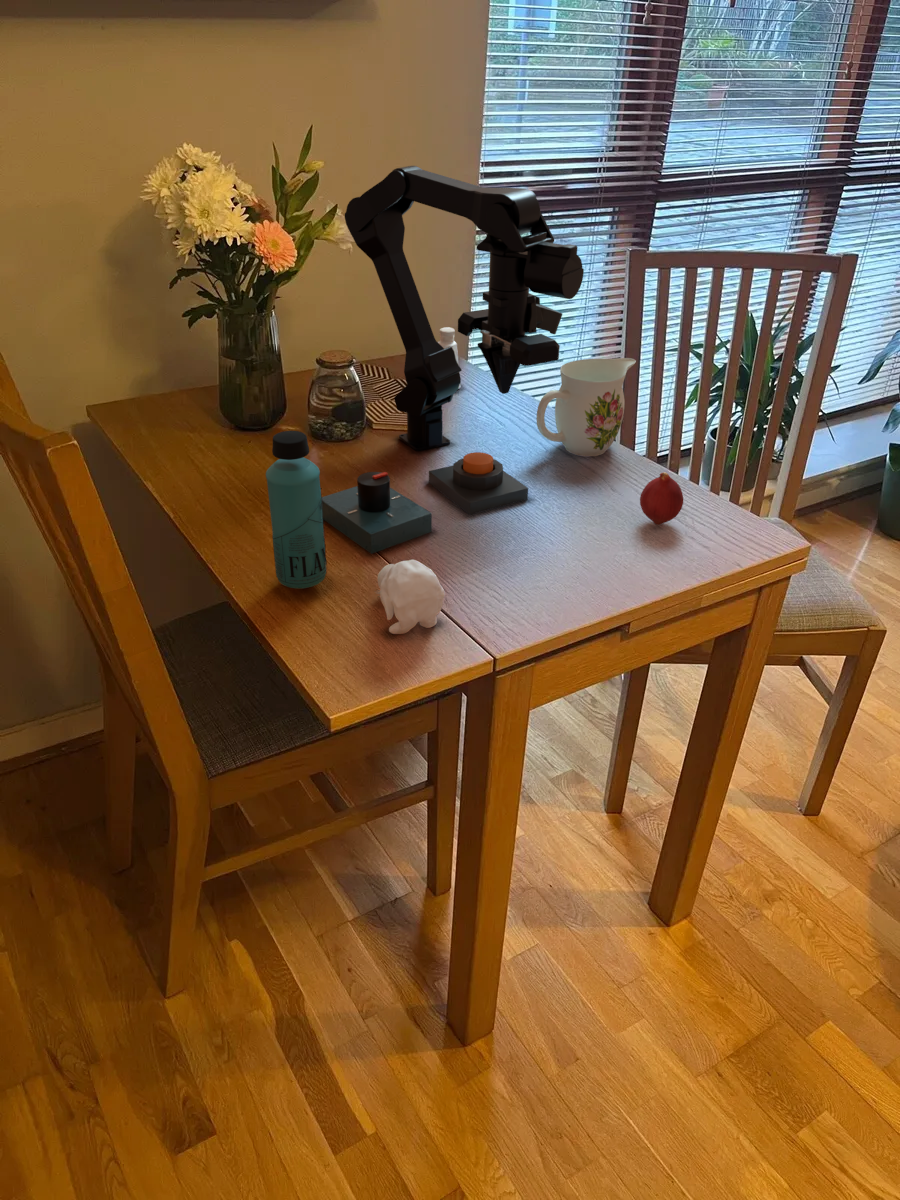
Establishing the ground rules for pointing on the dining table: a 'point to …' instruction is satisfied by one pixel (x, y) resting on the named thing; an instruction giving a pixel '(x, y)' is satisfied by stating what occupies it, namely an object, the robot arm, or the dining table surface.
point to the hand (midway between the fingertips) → (504, 392)
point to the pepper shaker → (448, 341)
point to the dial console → (376, 520)
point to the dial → (373, 491)
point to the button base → (478, 487)
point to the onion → (661, 499)
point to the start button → (478, 463)
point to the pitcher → (587, 405)
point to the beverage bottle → (296, 513)
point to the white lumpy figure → (410, 595)
